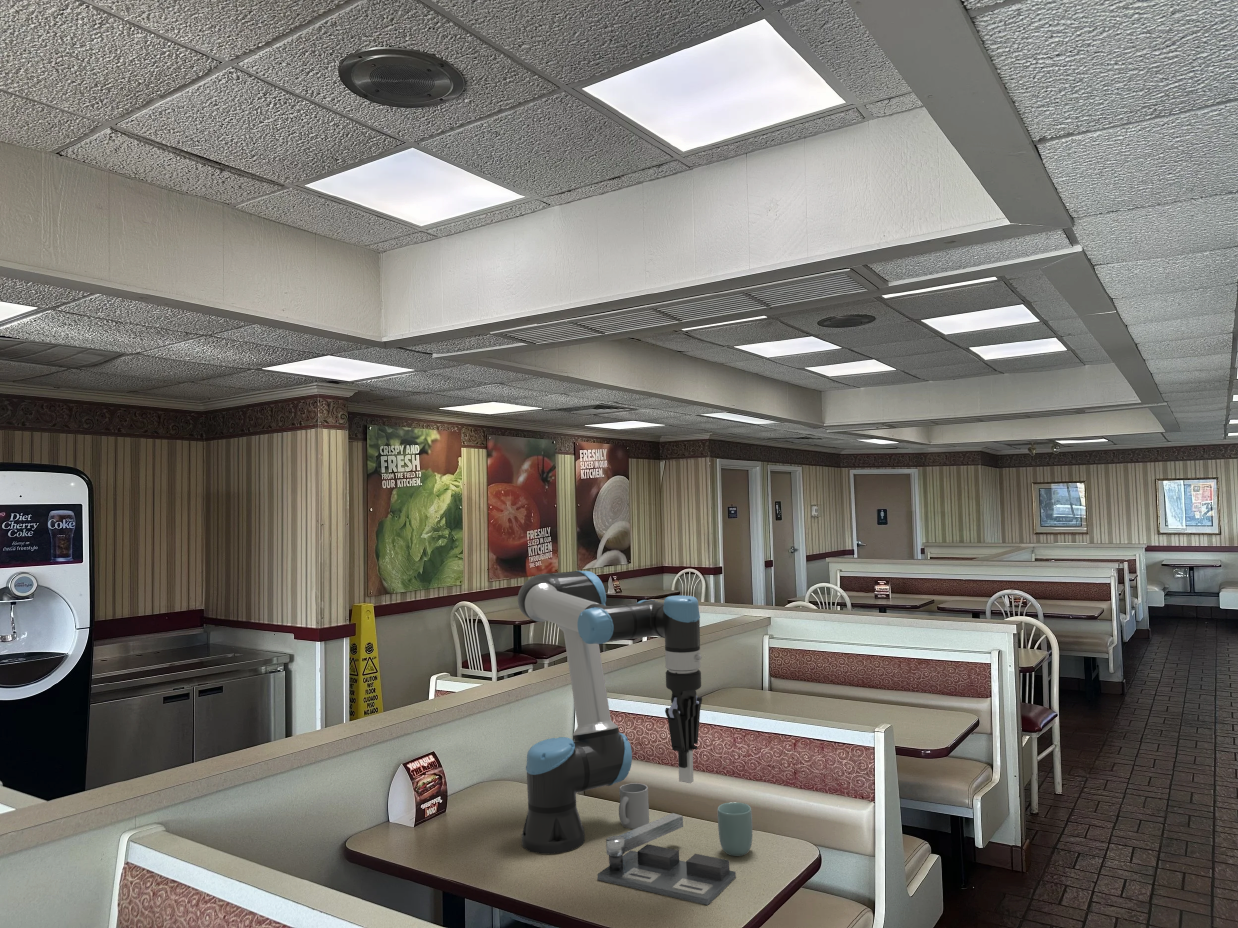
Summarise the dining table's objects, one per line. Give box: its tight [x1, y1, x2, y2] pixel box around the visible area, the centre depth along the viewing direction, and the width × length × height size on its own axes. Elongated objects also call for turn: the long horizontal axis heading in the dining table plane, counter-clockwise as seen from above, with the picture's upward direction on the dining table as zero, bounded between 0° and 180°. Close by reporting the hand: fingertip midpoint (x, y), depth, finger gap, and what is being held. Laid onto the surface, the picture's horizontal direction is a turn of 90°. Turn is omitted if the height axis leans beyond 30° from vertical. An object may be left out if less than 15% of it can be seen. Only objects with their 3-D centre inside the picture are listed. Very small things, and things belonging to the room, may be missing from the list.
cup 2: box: [717, 801, 753, 857], centre depth 191 cm, size 8×8×10 cm
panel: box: [597, 843, 737, 906], centre depth 179 cm, size 26×14×4 cm, turn 59°
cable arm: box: [605, 812, 684, 857], centre depth 189 cm, size 22×4×3 cm, turn 134°
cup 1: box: [618, 782, 650, 830], centre depth 210 cm, size 7×10×9 cm
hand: (686, 781), depth 178 cm, fingers closed
